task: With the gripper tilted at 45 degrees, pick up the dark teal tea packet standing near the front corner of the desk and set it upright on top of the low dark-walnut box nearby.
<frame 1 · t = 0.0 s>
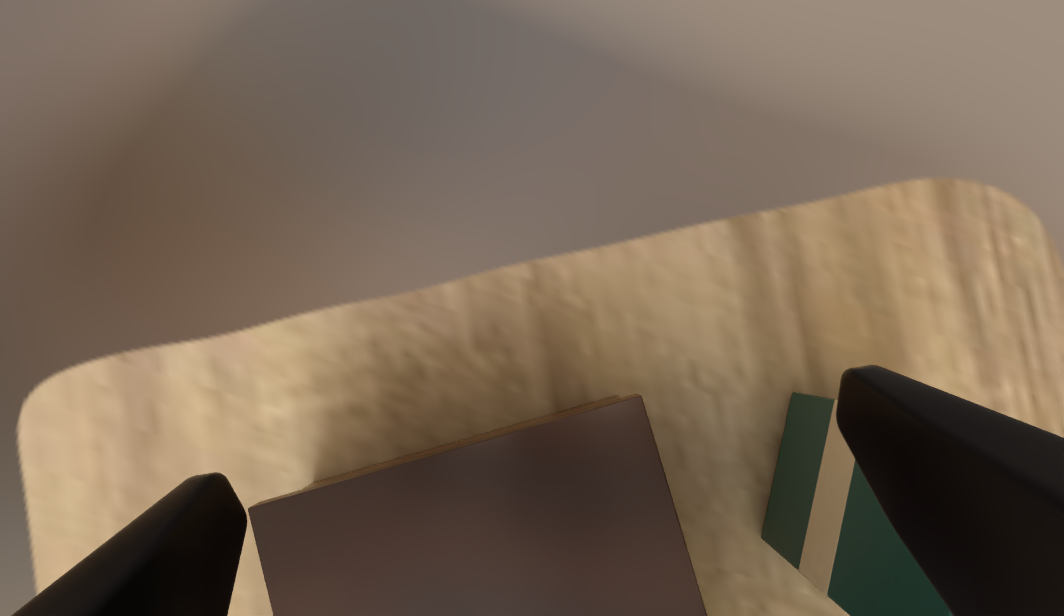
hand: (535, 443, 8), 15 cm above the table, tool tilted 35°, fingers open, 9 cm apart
walnut box: (511, 609, 22), on the table
tea packet: (837, 479, 22), on the table
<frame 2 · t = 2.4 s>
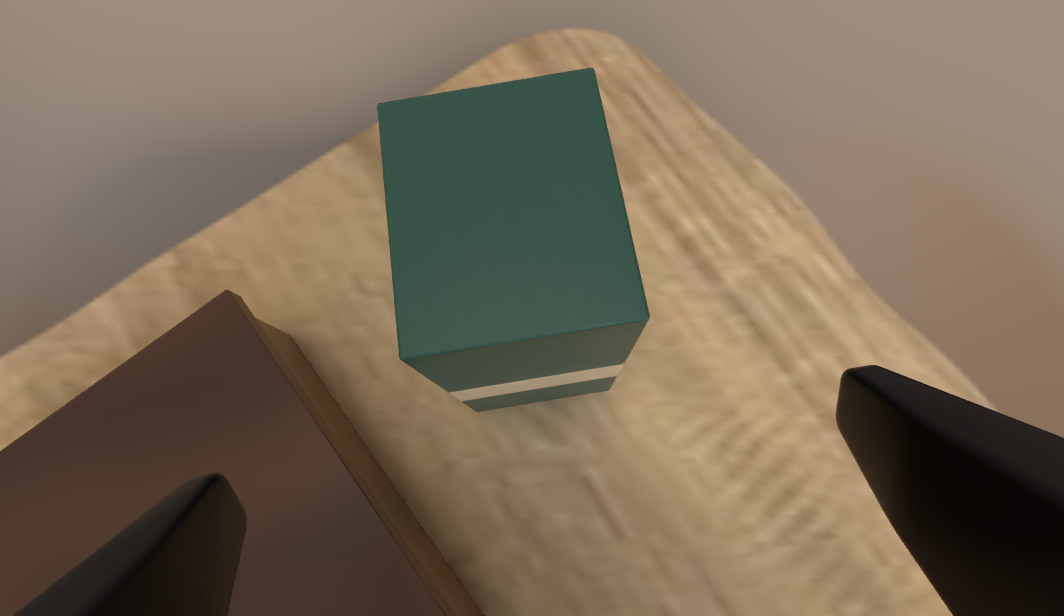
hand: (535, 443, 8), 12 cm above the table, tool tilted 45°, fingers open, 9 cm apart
walnut box: (236, 605, 19), on the table
tea packet: (530, 323, 21), on the table
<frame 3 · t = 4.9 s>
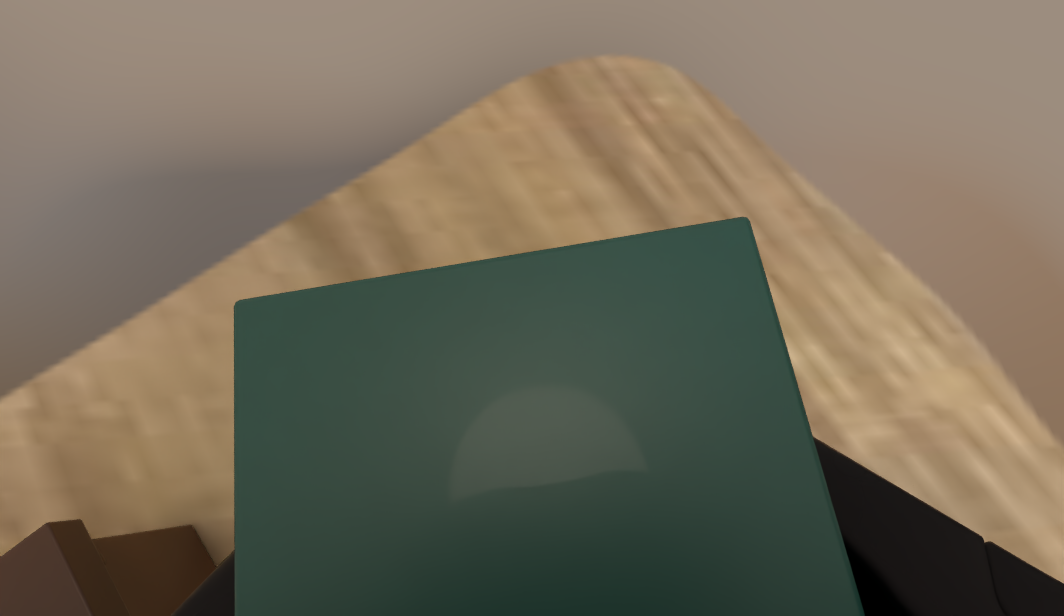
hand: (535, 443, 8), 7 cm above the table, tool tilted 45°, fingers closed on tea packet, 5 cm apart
tea packet: (555, 511, 14), on the table, touching gripper
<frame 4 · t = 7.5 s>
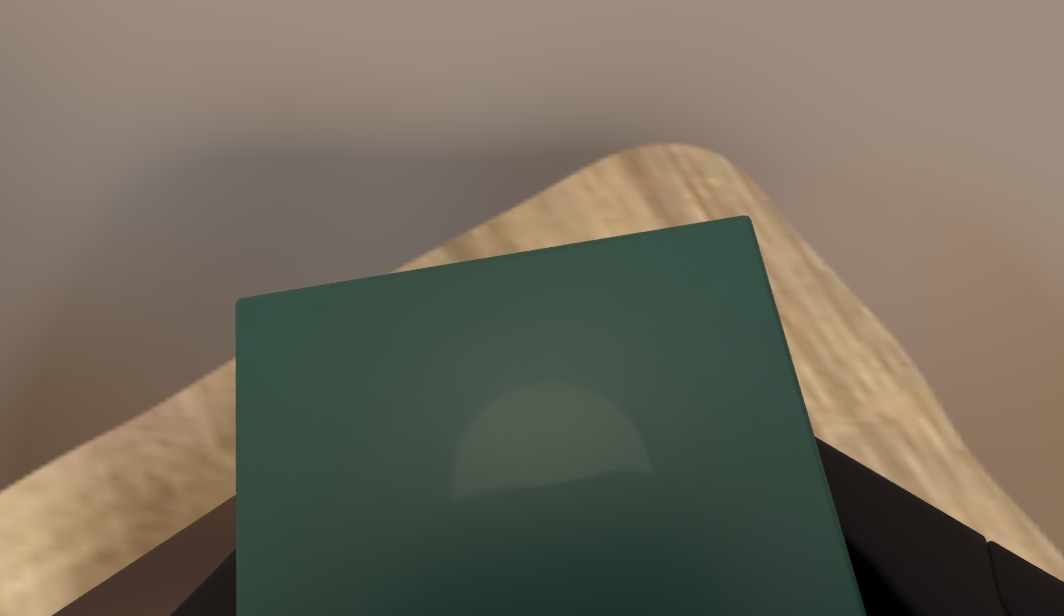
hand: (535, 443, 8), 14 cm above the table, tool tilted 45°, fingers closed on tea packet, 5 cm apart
tea packet: (556, 511, 14), point 7 cm above the table, touching gripper
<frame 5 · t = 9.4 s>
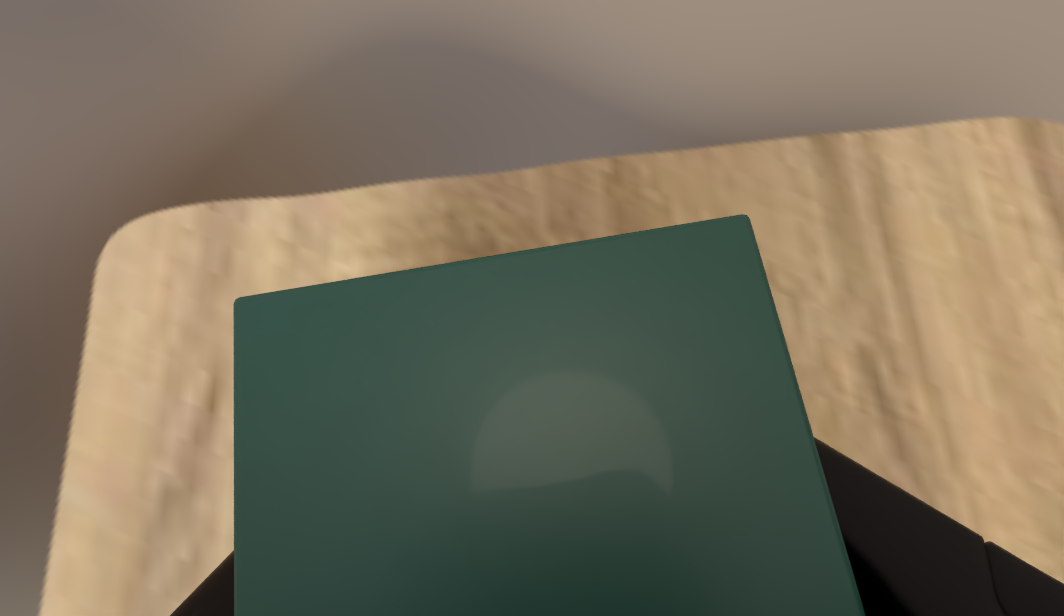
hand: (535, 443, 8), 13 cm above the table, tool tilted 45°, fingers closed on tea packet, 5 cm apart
tea packet: (555, 510, 14), point 7 cm above the table, touching gripper
when the fingers open (11 cm above the table, at t = 10.5 s): tea packet stays where it is, resting on walnut box.
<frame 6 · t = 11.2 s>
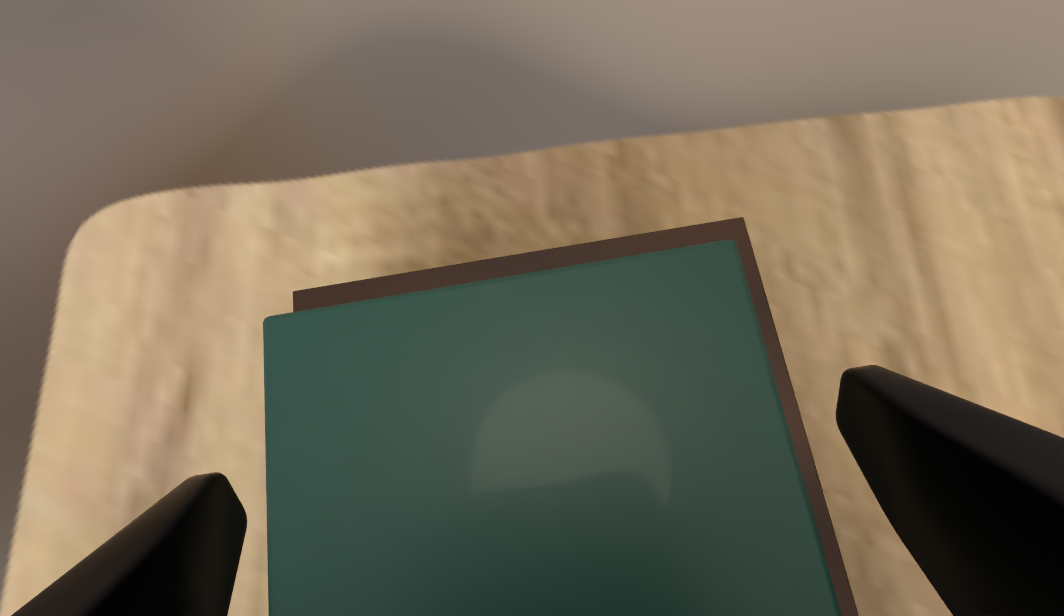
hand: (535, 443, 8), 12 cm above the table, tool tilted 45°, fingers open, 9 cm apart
walnut box: (559, 502, 19), on the table
tea packet: (556, 511, 14), point 4 cm above the table, touching walnut box
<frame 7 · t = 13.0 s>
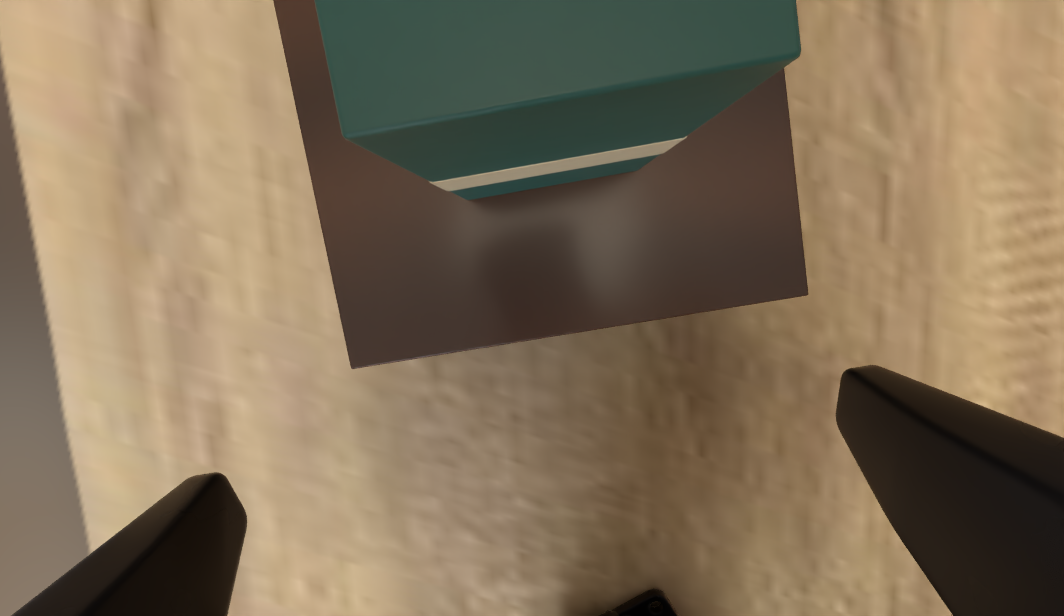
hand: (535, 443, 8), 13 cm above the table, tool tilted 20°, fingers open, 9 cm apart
walnut box: (536, 112, 20), on the table
tea packet: (534, 77, 15), point 4 cm above the table, touching walnut box
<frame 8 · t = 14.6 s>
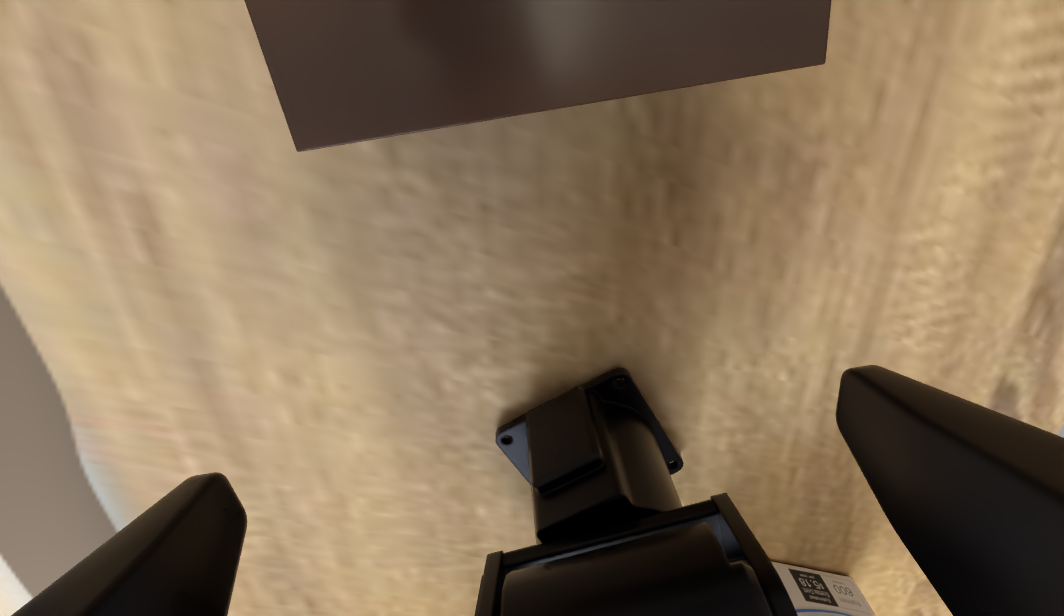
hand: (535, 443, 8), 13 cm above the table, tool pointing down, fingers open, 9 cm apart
light bulb box: (741, 593, 32), on the table
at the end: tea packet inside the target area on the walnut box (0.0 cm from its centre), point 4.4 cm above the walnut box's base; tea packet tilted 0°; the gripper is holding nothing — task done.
